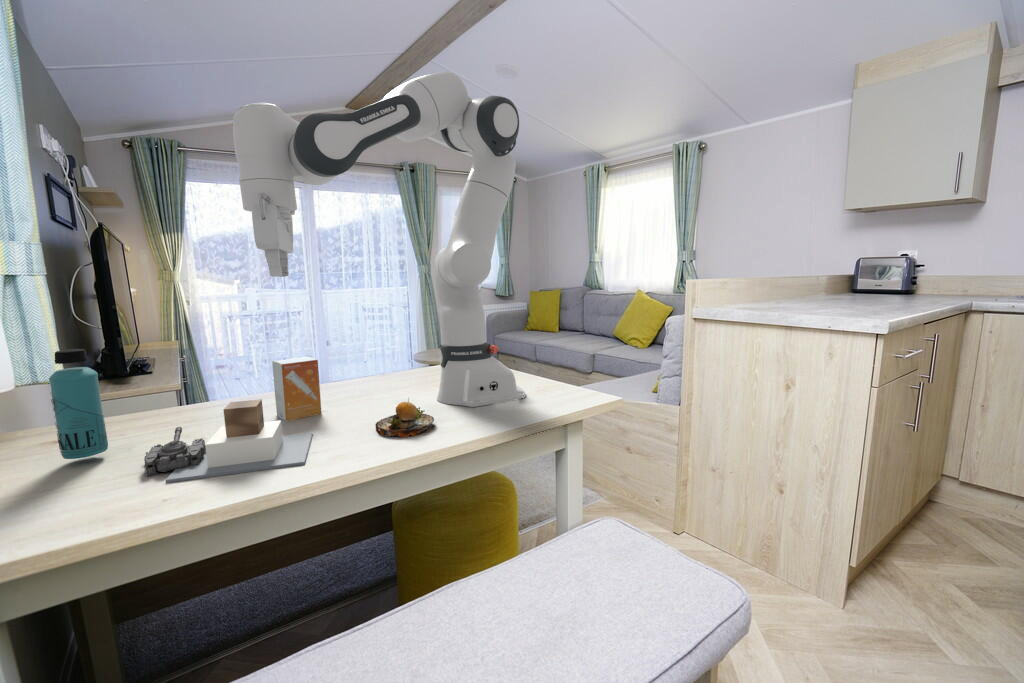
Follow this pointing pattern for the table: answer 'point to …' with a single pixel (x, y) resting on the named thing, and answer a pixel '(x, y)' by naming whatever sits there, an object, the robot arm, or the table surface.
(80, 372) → the beverage bottle
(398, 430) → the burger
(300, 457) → the plain slate board
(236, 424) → the walnut block
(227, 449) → the white plinth
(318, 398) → the small box
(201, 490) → the table surface
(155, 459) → the tank toy
